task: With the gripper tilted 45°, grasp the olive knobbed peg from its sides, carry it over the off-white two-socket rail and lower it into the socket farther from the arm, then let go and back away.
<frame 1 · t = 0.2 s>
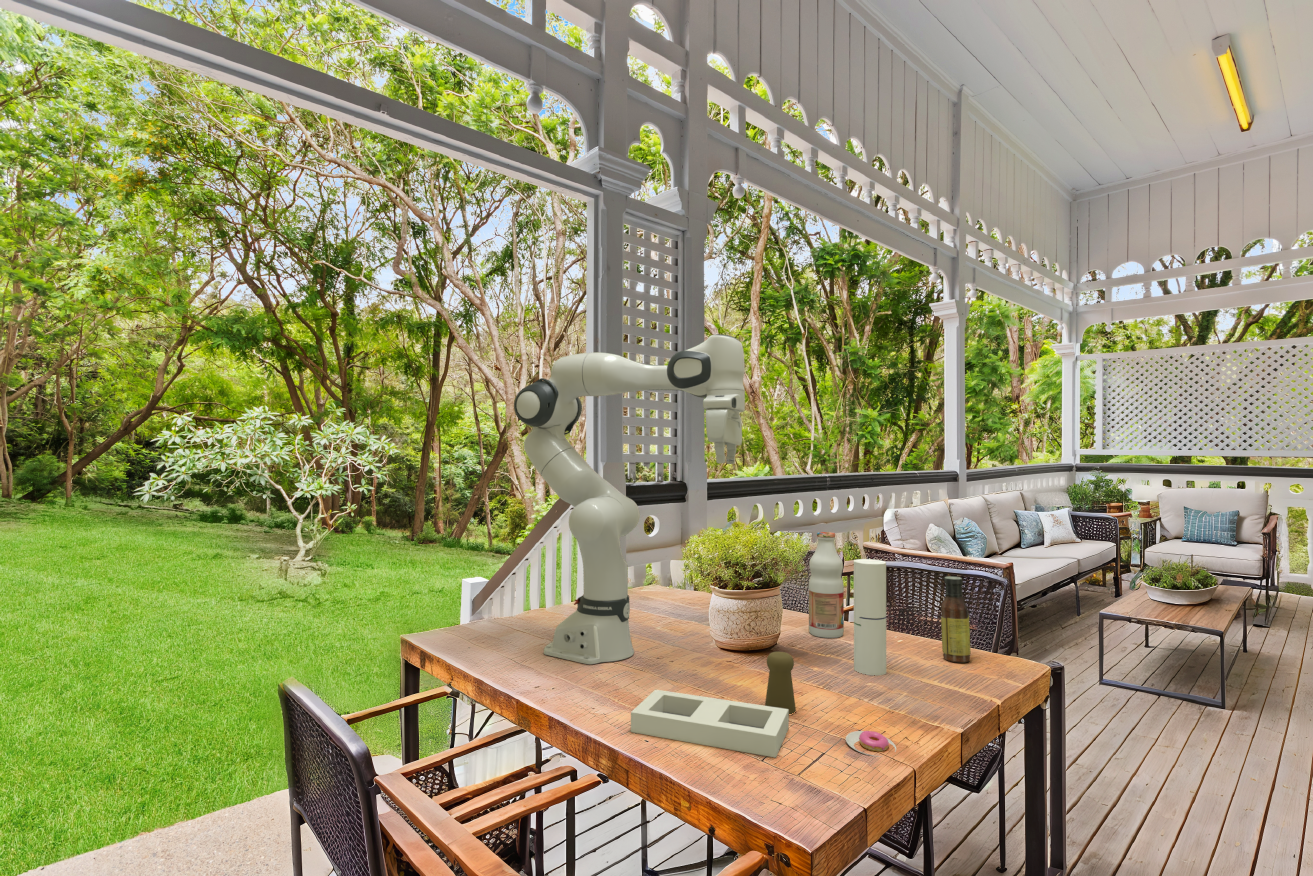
hand: (725, 463, 149), 48 cm above the table, tool pointing down, fingers open, 8 cm apart
sauce bottle: (955, 660, 157), on the table
donut: (862, 747, 111), on the table
cylindrical container: (870, 671, 149), on the table
socket rail: (710, 730, 116), on the table
olive knobbed peg: (780, 711, 125), on the table
fruit juice: (826, 634, 179), on the table
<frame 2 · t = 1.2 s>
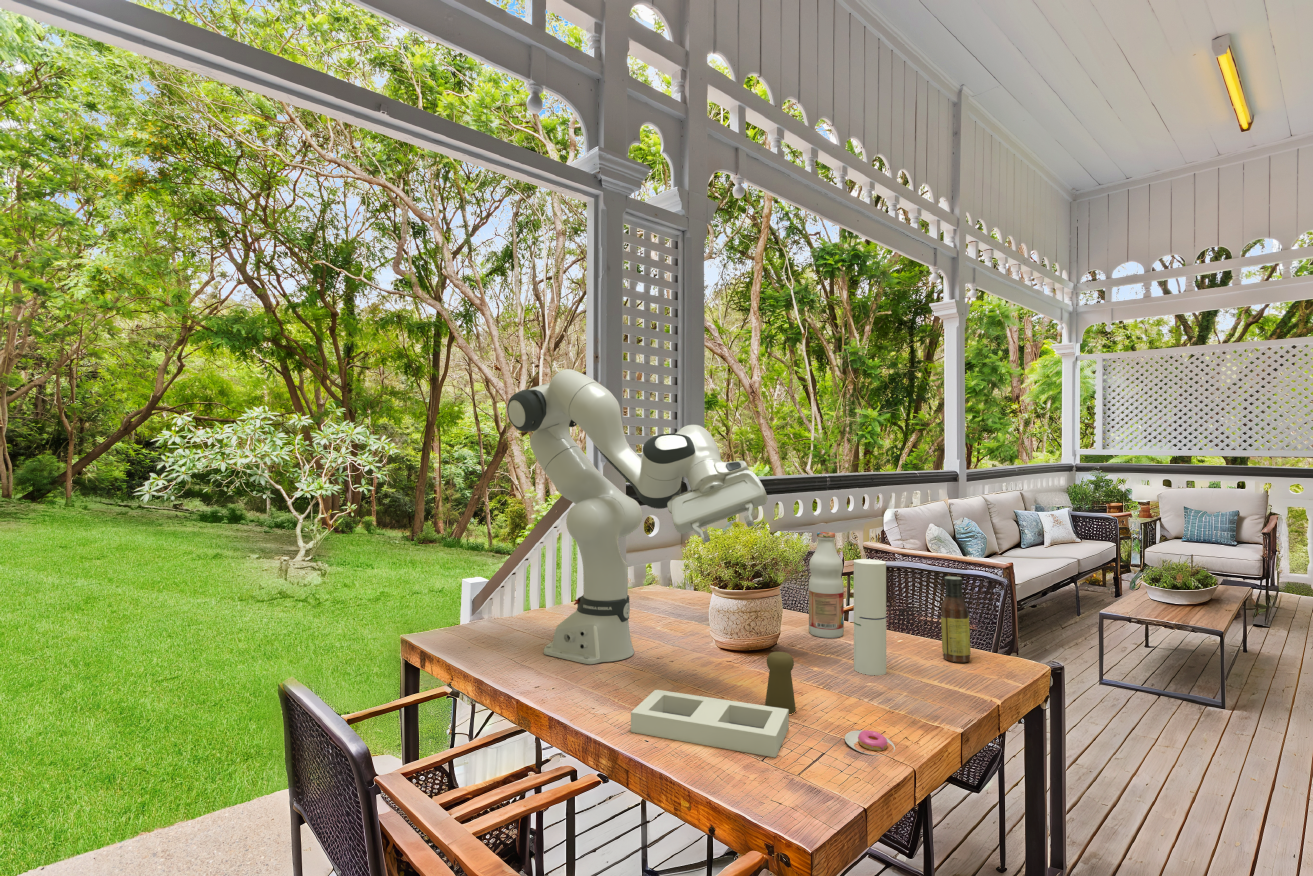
hand: (728, 532, 130), 34 cm above the table, tool tilted 45°, fingers open, 8 cm apart
nothing on the table moved.
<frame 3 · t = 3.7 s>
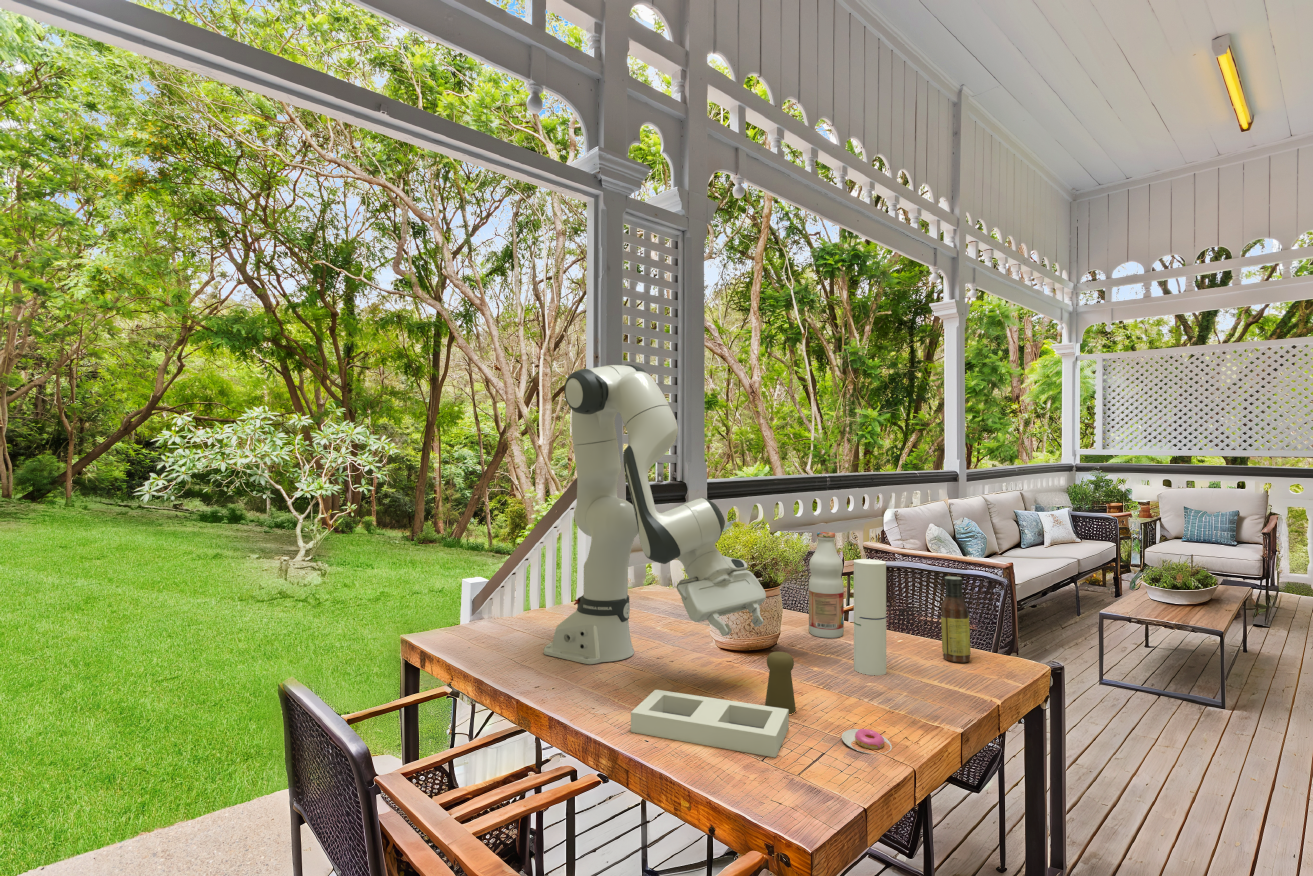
hand: (744, 629, 132), 14 cm above the table, tool tilted 45°, fingers open, 8 cm apart
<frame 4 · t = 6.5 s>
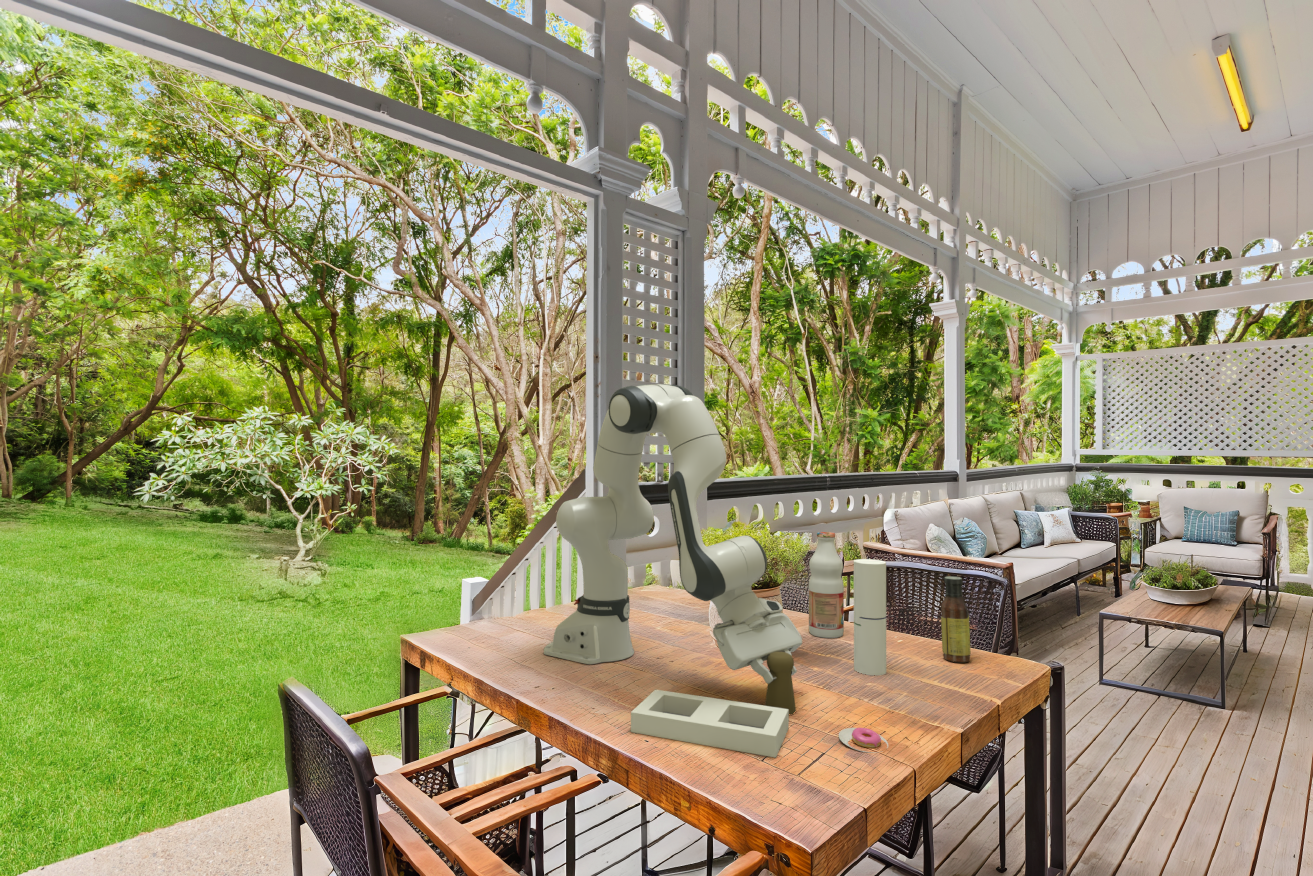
hand: (782, 677, 125), 6 cm above the table, tool tilted 45°, fingers closed on olive knobbed peg, 5 cm apart
olive knobbed peg: (780, 711, 125), on the table, touching gripper
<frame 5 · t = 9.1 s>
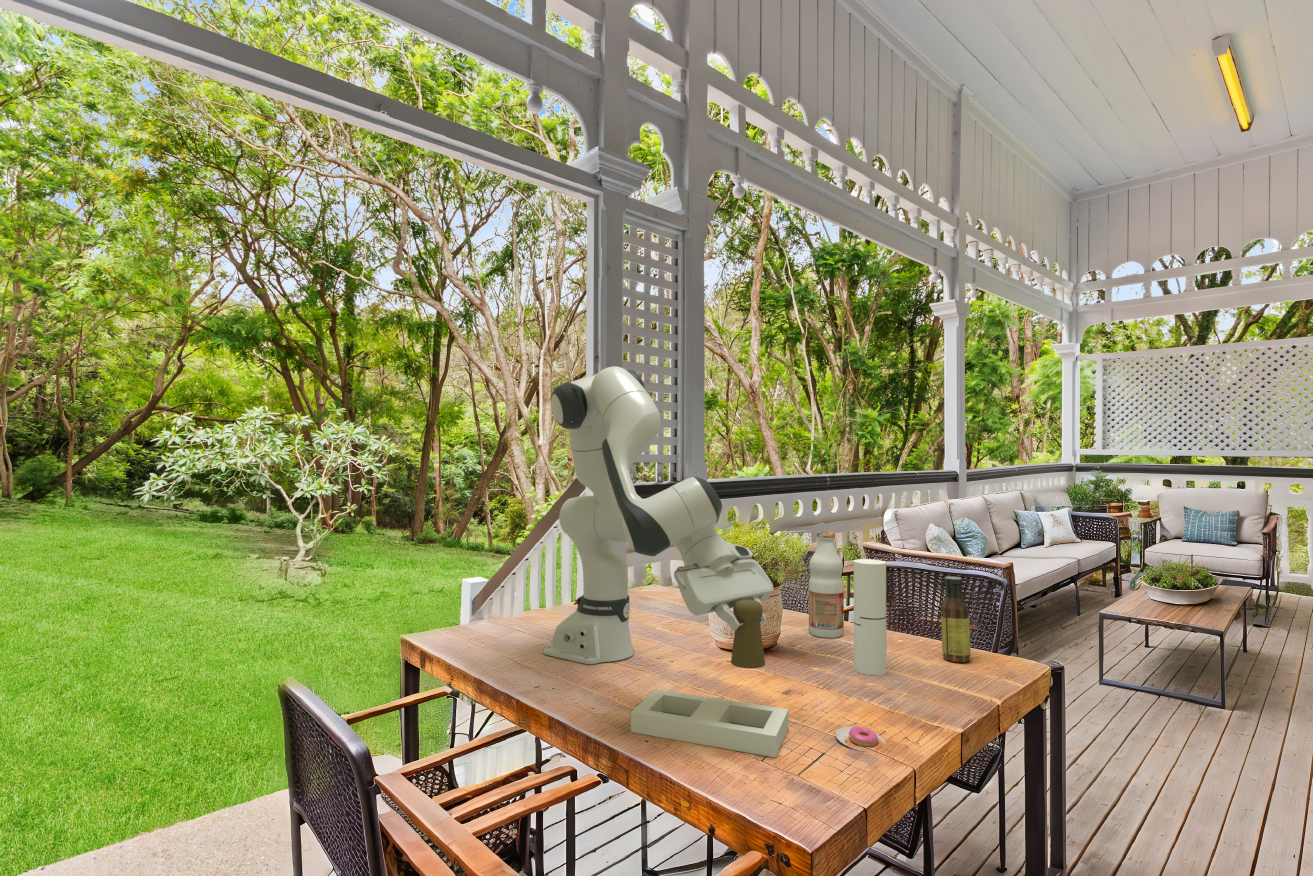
hand: (750, 625, 114), 20 cm above the table, tool tilted 45°, fingers closed on olive knobbed peg, 5 cm apart
olive knobbed peg: (747, 664, 114), point 13 cm above the table, touching gripper
when the fingers open (8 cm above the table, at t = 12.1 s): olive knobbed peg drops 1 cm, resting on socket rail.
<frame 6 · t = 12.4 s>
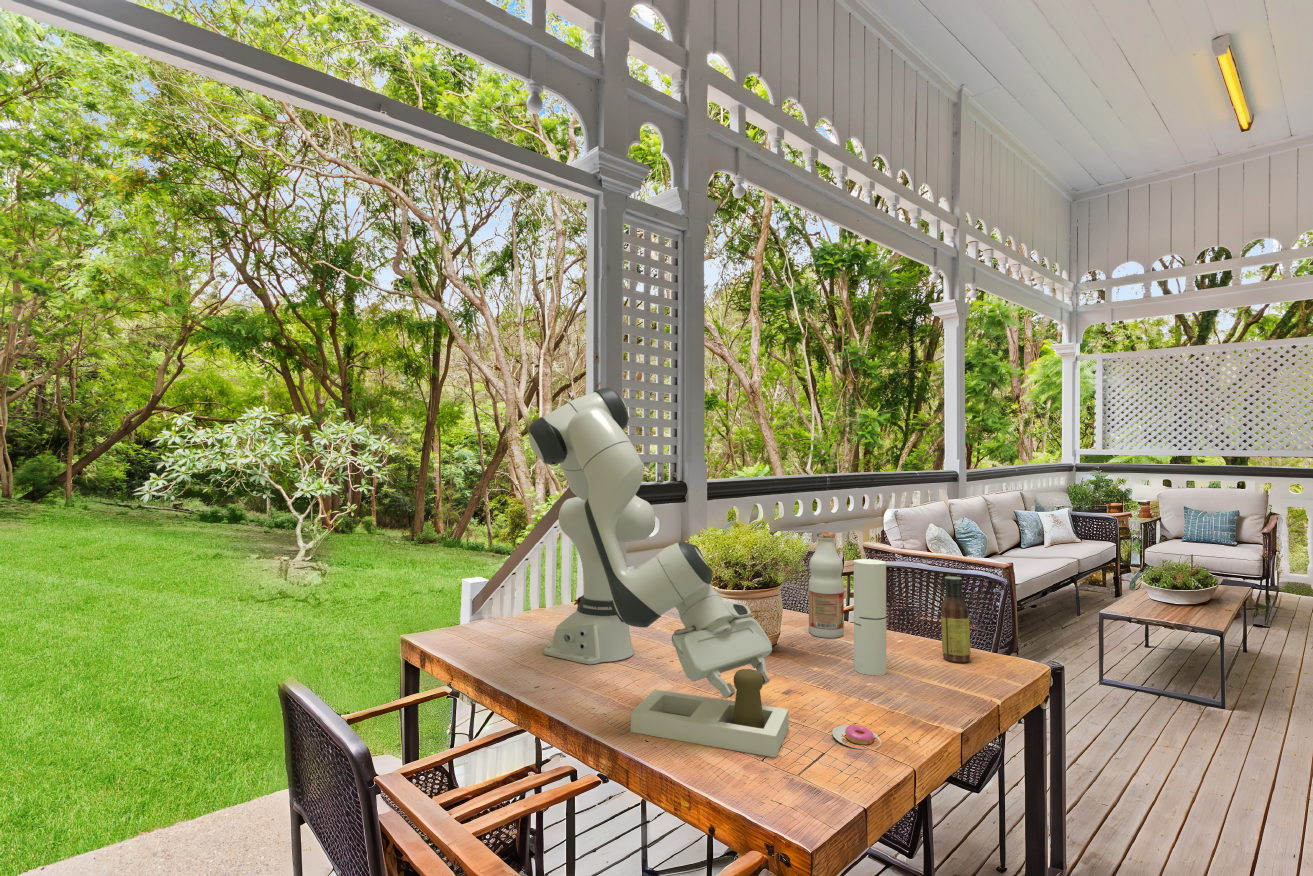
hand: (748, 689, 113), 8 cm above the table, tool tilted 45°, fingers open, 8 cm apart
olive knobbed peg: (748, 734, 114), resting on socket rail
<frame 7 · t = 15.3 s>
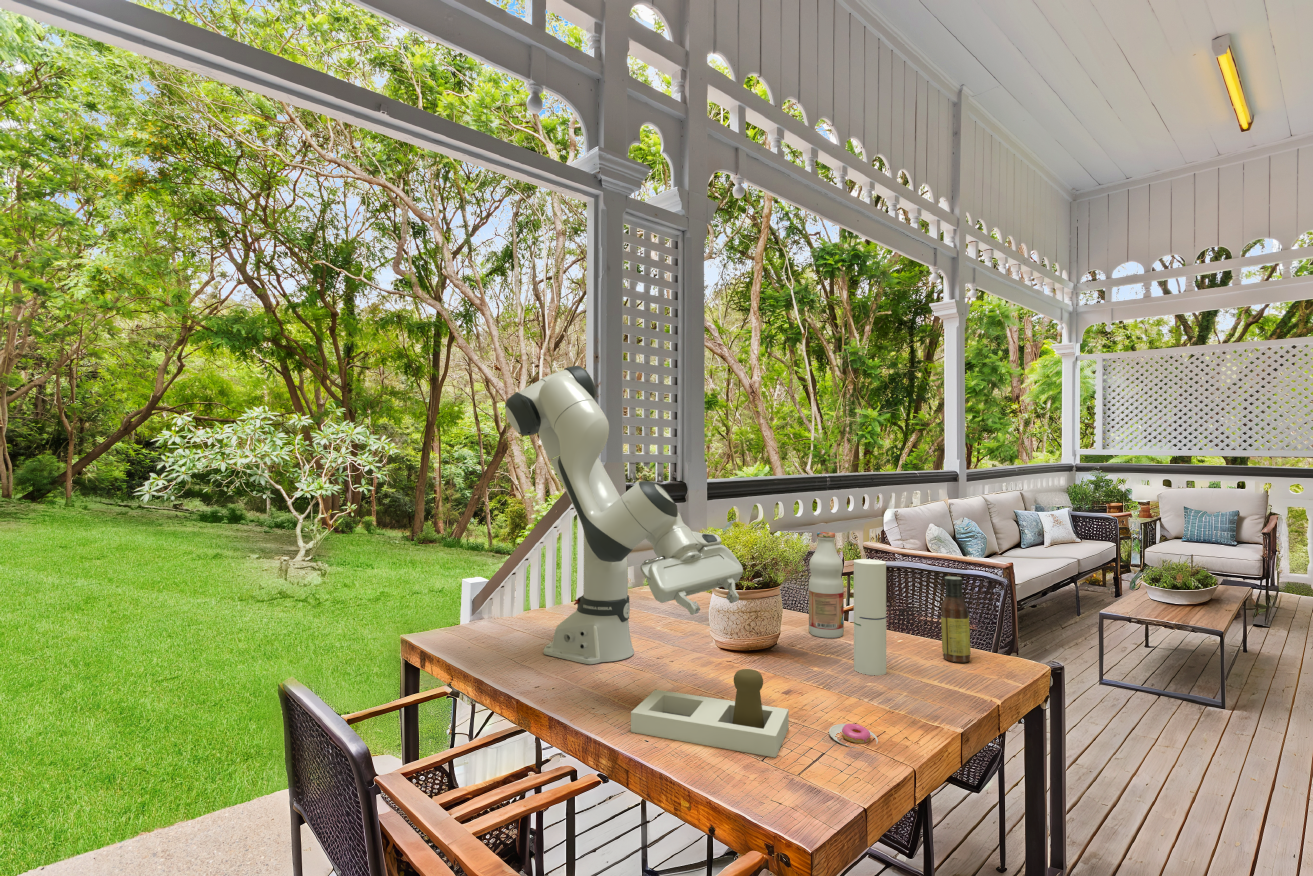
hand: (716, 606, 122), 21 cm above the table, tool tilted 50°, fingers open, 8 cm apart
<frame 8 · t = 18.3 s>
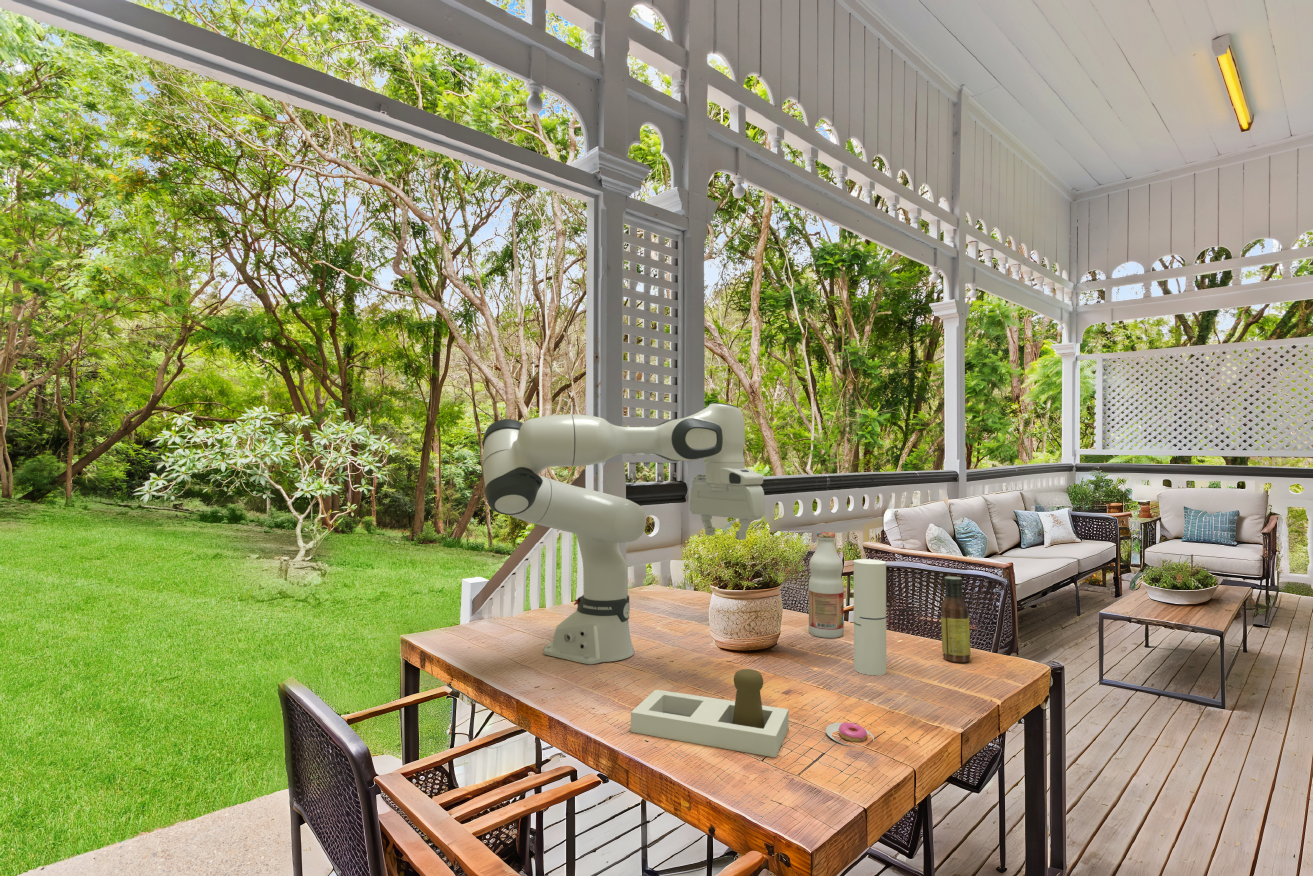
hand: (725, 537, 145), 31 cm above the table, tool pointing down, fingers open, 8 cm apart
at the end: olive knobbed peg 0.7 cm from the target spot on the socket rail, point 0.1 cm above the socket rail's base; olive knobbed peg tilted 0°; the gripper is holding nothing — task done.
